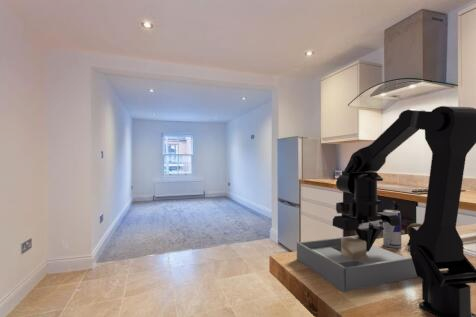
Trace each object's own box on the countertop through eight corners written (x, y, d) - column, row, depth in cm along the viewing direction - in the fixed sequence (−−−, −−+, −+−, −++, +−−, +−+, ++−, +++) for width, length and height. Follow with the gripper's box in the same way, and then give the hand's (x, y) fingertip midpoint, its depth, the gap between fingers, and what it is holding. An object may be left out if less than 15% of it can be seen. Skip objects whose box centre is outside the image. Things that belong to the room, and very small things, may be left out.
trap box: (424, 275, 62) (424, 256, 63) (343, 292, 55) (342, 269, 55) (363, 249, 81) (363, 234, 81) (296, 259, 74) (296, 242, 74)
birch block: (366, 258, 67) (366, 241, 67) (353, 260, 65) (352, 243, 65) (354, 252, 71) (353, 236, 71) (341, 254, 70) (341, 238, 70)
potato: (446, 246, 84) (446, 223, 84) (423, 252, 79) (423, 227, 79) (420, 239, 92) (419, 218, 92) (397, 244, 86) (397, 221, 87)
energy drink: (405, 247, 83) (404, 212, 83) (392, 248, 82) (391, 213, 82) (392, 242, 88) (391, 209, 89) (379, 243, 87) (379, 210, 87)
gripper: (368, 191, 80) (369, 239, 80) (320, 194, 74) (320, 245, 74) (400, 195, 69) (401, 251, 69) (346, 199, 64) (347, 259, 64)
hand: (366, 251), depth 69 cm, fingers closed
